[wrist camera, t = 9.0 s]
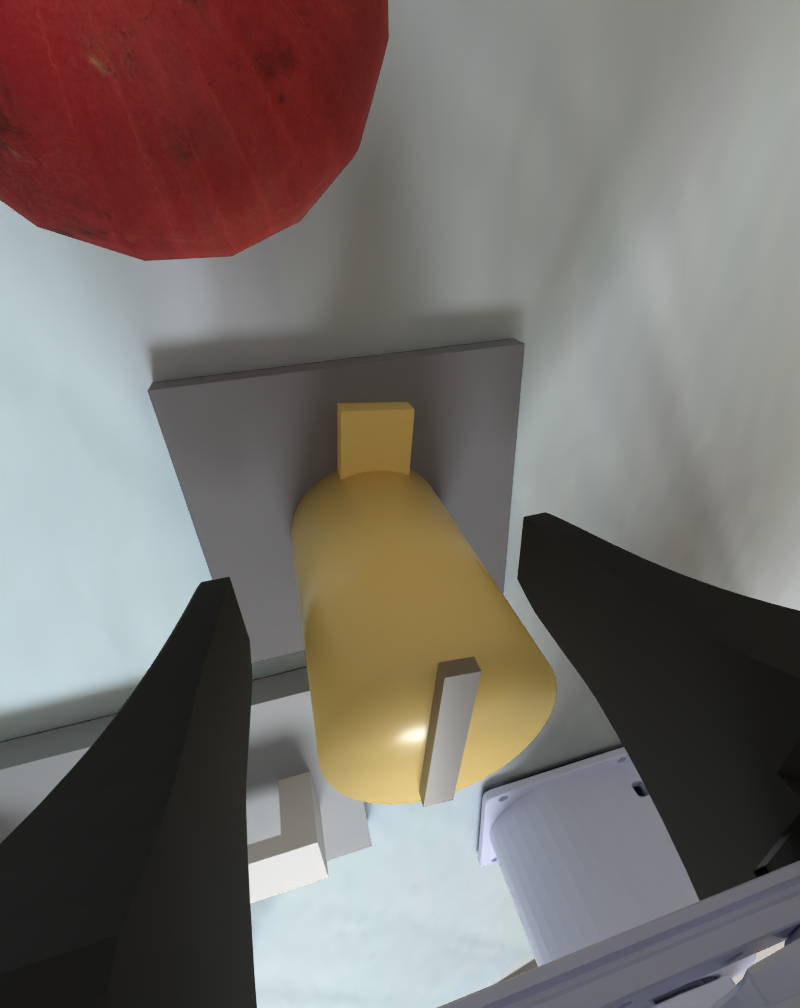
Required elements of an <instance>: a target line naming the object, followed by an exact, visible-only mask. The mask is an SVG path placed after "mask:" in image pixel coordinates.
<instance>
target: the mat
mask: <svg viewBox="0 0 800 1008" xmlns="http://www.w3.org/2000/svg"><path fill="white" fill-rule="evenodd" d="M523 355H524V343H522V342H520V341H518V340H516V339H506V340H498V341H489V342H481V343H473V344H465V345H457V346H449V347H441V348H432V349H424V350H416V351H408V352H400V353H392V354H384V355H375V356H367V357H359V358H351V359H343V360H335V361H326V362H318V363H310V364H302V365H294V366H286V367H278V368H269V369H261V370H253V371H245V372H237V373H229V374H220V375H212V376H204V377H196V378H188V379H180V380H172V381H163V382H155V383H152V385H151V386H150V388H149V390H148V393H149V396H150V399H151V402H152V405H153V408H154V410H155V413H156V416H157V419H158V422H159V425H160V428H161V431H162V434H163V437H164V440H165V443H166V445H167V448H168V451H169V454H170V457H171V460H172V463H173V466H174V469H175V472H176V475H177V478H178V480H179V483H180V486H181V489H182V492H183V495H184V498H185V501H186V504H187V507H188V510H189V513H190V515H191V518H192V521H193V524H194V527H195V530H196V533H197V536H198V539H199V542H200V545H201V548H202V550H203V553H204V556H205V559H206V562H207V565H208V568H209V571H210V574H211V577H212V580H215V579H220V578H225V577H230V579H231V582H232V586H233V589H234V592H235V595H236V598H237V601H238V605H239V608H240V611H241V614H242V617H243V620H244V624H245V627H246V630H247V633H248V636H249V639H250V650H251V663H254V662H259V661H263V660H267V659H271V658H275V657H280V656H284V655H288V654H292V653H296V652H300V651H305V647H304V639H303V631H302V623H301V615H300V607H299V599H298V591H297V583H296V575H295V567H294V559H293V551H292V542H291V525H292V520H293V516H294V514H295V511H296V509H297V507H298V505H299V503H300V501H301V500H302V498H303V497H304V495H305V494H306V493H307V492H308V491H309V489H310V488H311V487H312V486H313V485H314V484H316V483H317V482H318V481H319V480H320V479H322V478H323V477H325V476H326V475H328V474H329V473H331V472H333V471H335V470H337V403H374V402H409V404H410V405H411V406H412V407H413V408H414V410H415V411H414V423H413V435H412V447H411V458H410V469H412V470H413V471H415V472H417V473H418V474H419V475H421V476H422V477H423V478H424V479H425V480H426V481H427V482H428V483H429V484H430V486H431V487H432V489H433V490H434V492H435V493H436V495H437V496H438V498H439V499H440V501H441V502H442V504H443V505H444V507H445V508H446V510H447V511H448V513H449V514H450V516H451V517H452V519H453V520H454V522H455V523H456V525H457V526H458V528H459V529H460V531H461V532H462V534H463V535H464V537H465V538H466V540H467V541H468V543H469V544H470V546H471V547H472V549H473V550H474V552H475V553H476V555H477V556H478V558H479V559H480V561H481V562H482V564H483V565H484V567H485V568H486V570H487V571H488V573H489V574H490V576H491V577H492V579H493V580H494V582H495V583H496V585H497V586H498V588H499V589H500V591H501V592H502V594H503V590H504V579H505V567H506V555H507V543H508V532H509V520H510V508H511V496H512V485H513V473H514V461H515V449H516V438H517V426H518V414H519V402H520V391H521V379H522V367H523Z"/></svg>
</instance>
